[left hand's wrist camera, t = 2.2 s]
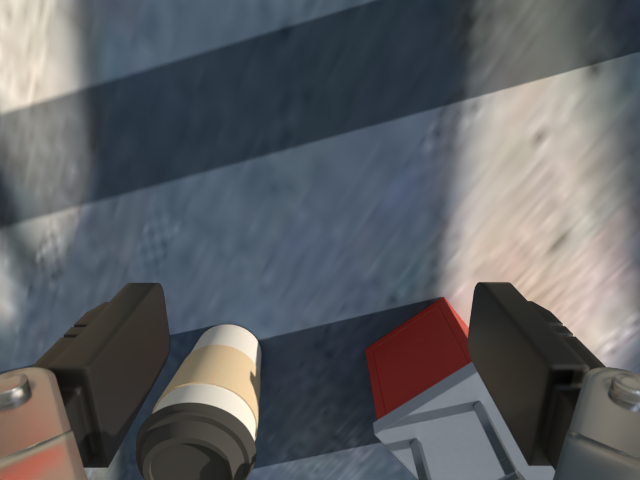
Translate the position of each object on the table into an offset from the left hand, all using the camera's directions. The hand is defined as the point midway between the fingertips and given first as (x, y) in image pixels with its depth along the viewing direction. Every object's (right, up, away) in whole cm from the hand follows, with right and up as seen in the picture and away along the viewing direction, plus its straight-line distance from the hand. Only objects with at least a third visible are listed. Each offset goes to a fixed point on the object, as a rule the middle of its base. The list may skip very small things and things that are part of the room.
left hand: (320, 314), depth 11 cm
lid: (+12, -15, +24) cm, 31 cm away
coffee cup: (-9, -10, +34) cm, 36 cm away
